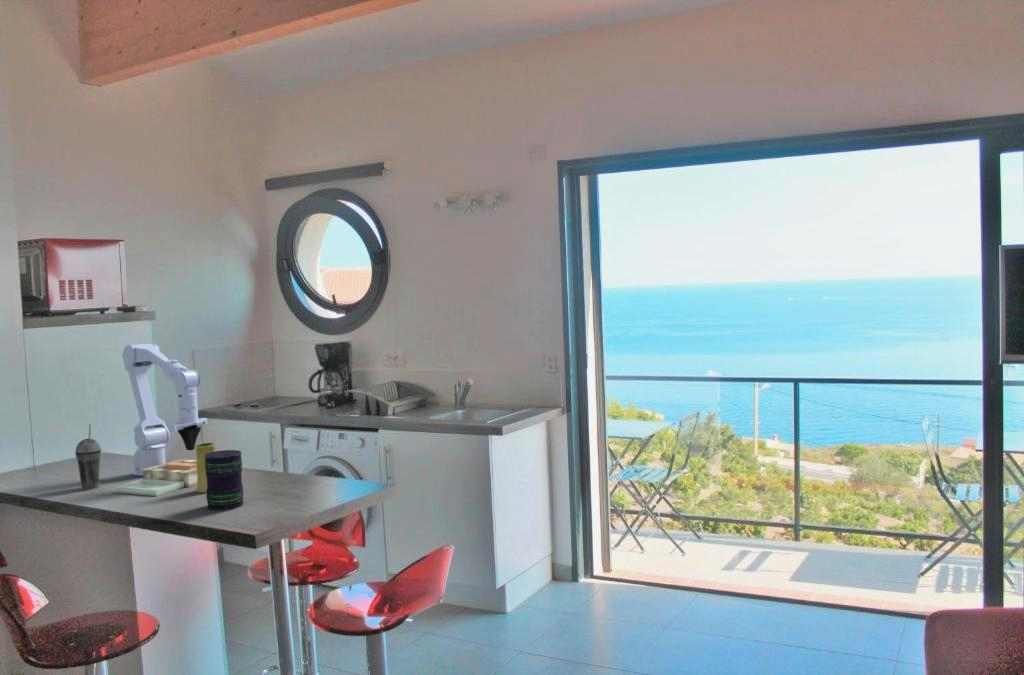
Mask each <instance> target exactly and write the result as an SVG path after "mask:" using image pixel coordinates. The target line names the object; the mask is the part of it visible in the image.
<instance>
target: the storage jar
mask: <svg viewBox="0 0 1024 675" xmlns="http://www.w3.org/2000/svg"><path fill="white" fill-rule="evenodd" d="M205 459H206V460H205V469H206V472H205V473H206V476H207V489H206V490H207V493H206V495H205V496H206V500H207V501H206V503H207V508H206V509H207V510H209V511H215V512H219V511H220V512H222V510H224V511H231V510H236V509H238V507H239V508H241V507H243V506H244V505H243V504H245V503H244V493H245V492H244V485H243V480H242V479H243V478H242V472H243V466H242V465H243V461H242V451H240V450H236V449H235V450H233V449H228V450H227V449H226V450H225V449H224V450H217V451H215V452H211V453H207V454H205ZM242 505H243V506H242ZM235 508H236V509H235ZM230 509H231V510H230Z"/></svg>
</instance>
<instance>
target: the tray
mask: <svg viewBox="0 0 1024 675" xmlns="http://www.w3.org/2000/svg"><path fill="white" fill-rule="evenodd" d="M183 488H185V487H184V482H183V481H170V480H157V479H143V478H141V479H139V480H138V479H137V480H134V481H131V482H128V483H124V484H121V485H118V486H115V492H116V494H127V495H140V496H141V495H142V496H150V497H159V496H162V495H164V494H165V495H166V494H168V493H170V492H174V491H177V490H181V489H183Z"/></svg>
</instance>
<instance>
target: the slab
mask: <svg viewBox="0 0 1024 675" xmlns="http://www.w3.org/2000/svg"><path fill="white" fill-rule="evenodd" d="M194 468H197V464H194V463H179V462H173V463H169V464H166V469H171V470H186V471H187V470H190V469H194Z"/></svg>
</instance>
